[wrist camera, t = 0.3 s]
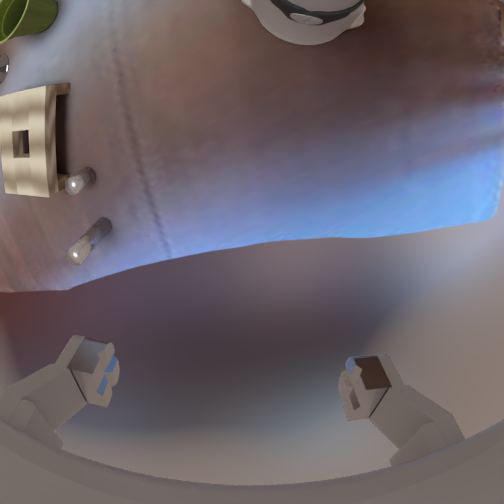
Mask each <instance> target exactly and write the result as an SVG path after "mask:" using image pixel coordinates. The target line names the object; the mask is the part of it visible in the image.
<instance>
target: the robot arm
mask: <svg viewBox="0 0 504 504" xmlns="http://www.w3.org/2000/svg"><path fill="white" fill-rule="evenodd" d="M240 1H241V2H242V3H243V4H245V5H246V6H247V7H249V8H250V9H252V10H253V11H254V13H255V14H256V16H257V18H258V19H259V21H260V23H261V24H262V25H263V26H264V27H265V28H266V29H267V30H268V31H269V32H270V33H272V34H273V35H275V36H276V37H278V38H280V39H282V40H284V41H287V42H290V43H294V44H299V45H317V44H322V43H326V42H328V41H331V40H333V39H334V38H336V37H337V36H339V35H340V34H341V33H342V32H344V31H345V30H347V29H352V28H356V27H359V26H361V25H362V24H363V22H364V12H365V10H366V7H365V6H364V1H365V0H240ZM500 1H502V2H504V0H500ZM114 352H115V349H114V346H113V344H112V343H110V342H105V341H101V340H96V339H92V338H87V337H82V336H78V335H74V336H72V337H71V339H70V340H69V342H68V343H67V345H66V347H65V348H64V350H63V351H62V353H61V355H60V356H59V358H58V359H57V361H56V363H55V364H50V365H48V366H47V367H45V368H43V369H41V370H39V371H37V372H35V373H34V374H32V375H30V376H28V377H26V378H24V379H23V380H21V381H19V382H17V383H15V384H13V385H12V386H10V387H8V388H6V389H5V391H4V392H3V394H2V396H1V398H0V504H504V419H503V420H501V421H499V422H498V423H496V424H494V425H492V426H490V427H489V428H487V429H485V430H483V431H481V432H479V433H477V434H475V435H473V436H471V437H469V438H467V439H465V438H464V436H463V434H462V432H461V430H460V428H459V426H458V424H457V423H456V420H455V418H454V417H453V415H452V414H451V413H450V412H448V411H447V410H445V409H444V408H442V407H441V406H439V405H438V404H436V403H435V402H433V401H432V400H430V399H429V398H427V397H426V396H424V395H423V394H421V393H420V392H418V391H417V390H415V389H414V388H412V387H411V386H409V385H405V384H404V383H403V381H402V379H401V377H400V375H399V373H398V371H397V369H396V367H395V366H394V364H393V362H392V360H391V358H390V356H389V355H388V354H382V355H370V356H357V357H349V358H348V359H347V362H346V364H345V365H346V368H347V369H346V370H345V371H343V372H342V373H341V376H340V378H339V385H338V386H339V393H340V397H341V398H343V399H344V400H345V401H346V403H345V404H344V410H345V413H346V416H347V420H348V421H351V420H359V419H367V418H369V420H370V421H371V422H372V423H373V424H374V425H375V426H376V427H377V428H378V429H379V430H380V431H381V432H382V433H383V434H384V435H385V436H386V437H387V438H388V439H389V440H390V441H391V442H392V443H393V444H395V445H396V446H397V447H398V448H399V450H398V451H397V452H396V453H395V454H394V455H393V456H392V457H391V459H390V463H391V467H387V468H383V469H380V470H375V471H371V472H367V473H362V474H357V475H353V476H347V477H341V478H335V479H329V480H322V481H314V482H306V483H295V484H278V485H225V484H210V483H199V482H189V481H182V480H175V479H168V478H162V477H156V476H151V475H146V474H142V473H137V472H133V471H128V470H124V469H120V468H116V467H113V466H110V465H106V464H102V463H99V462H96V461H93V460H90V459H87V458H84V457H81V456H78V455H75V454H73V453H70V452H68V451H65V450H62V446H63V441H62V439H61V438H60V437H59V436H58V434H57V433H56V432H55V430H56V429H57V428H58V427H60V426H61V425H62V424H63V423H64V422H65V421H67V420H68V419H69V418H70V417H72V416H73V415H74V414H75V413H76V412H78V411H79V410H80V409H81V408H82V407H84V406H85V405H86V404H87V403H91V404H95V405H99V406H104V407H108V404H109V402H110V399H111V397H112V394H113V393H112V390H111V387H113V386H114V385H115V384H116V383H117V380H118V378H119V371H120V370H119V363H118V360H117V358H116V357H114V356H113V354H114ZM86 402H87V403H86Z"/></svg>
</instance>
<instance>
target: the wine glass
mask: <svg viewBox="0 0 504 504" xmlns="http://www.w3.org/2000/svg"><path fill="white" fill-rule="evenodd" d="M8 68H9V60H8V57H7V56H6V55H1V56H0V83H2V82H3V80H4V79H5V77H6V75H7V72H8Z"/></svg>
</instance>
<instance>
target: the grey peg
mask: <svg viewBox="0 0 504 504" xmlns="http://www.w3.org/2000/svg"><path fill="white" fill-rule="evenodd" d="M111 228H112V225H111V222H110V221H109V220H108V219H107V218H104V217H103V218H100V219H99V220H98V221H97V222H96V223H95V224H94V225H93V226H92V227H91V228H90V229H89V230H88V231H87V232H86V233H85V234H84V235H83V236H81V237H80V238H79V239H78V240H77V241H76V243H75V244H74V245H73V246H72V247H71V248H70V249H69V250H68V251H67V253H66V256H67V259H68V260H69V262H70V263H71V264H73V265H75V266H78V265H80V264H81V263H82V261H83V260H84V259H85V258H86V257H87V256H88V254H89V253H90V252H91V251H92V250H93V249H94V248H95V246H96V245H97V244H98V243H99V242H100V241H101V240H102V239H103V238H104V237H105V235H106V234H107V233H108V232H109V231H110V230H111Z"/></svg>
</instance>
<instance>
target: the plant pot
mask: <svg viewBox="0 0 504 504" xmlns="http://www.w3.org/2000/svg"><path fill="white" fill-rule="evenodd" d="M57 11H58V7H57V3H56V2H55V1H53V0H1V1H0V44H1V43H3V42H5V41H6V40H9V39H12V38H14V37H18V36H22V35H27V34H33V33H39V32H42V31H44V30H46V29H47V28H48V27H49V26H50V25H51V24H52V23H53V21H54V19H55V17H56V15H57Z"/></svg>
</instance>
